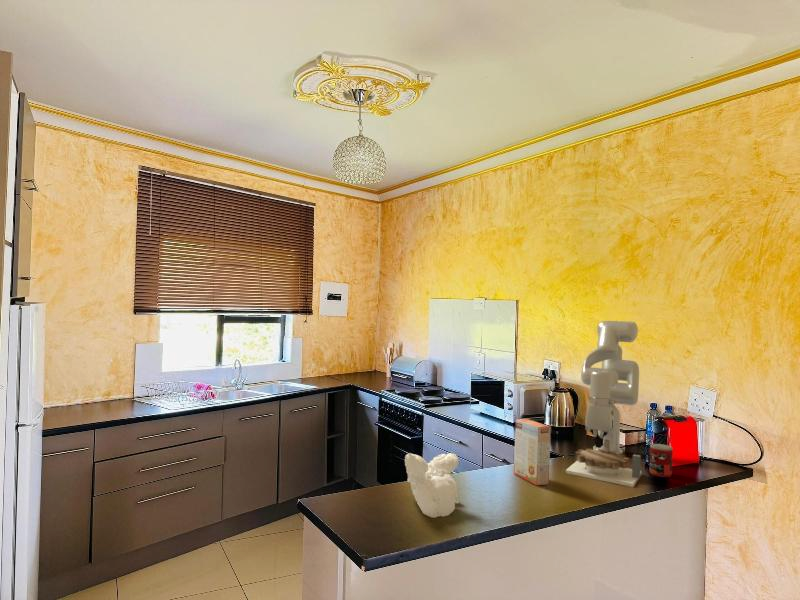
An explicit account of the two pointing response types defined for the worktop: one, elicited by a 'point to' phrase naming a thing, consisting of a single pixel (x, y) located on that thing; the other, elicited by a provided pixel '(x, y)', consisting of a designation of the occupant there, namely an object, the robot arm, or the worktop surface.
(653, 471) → the canned food
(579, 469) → the stand
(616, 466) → the sprocket
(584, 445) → the worktop surface
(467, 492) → the worktop surface
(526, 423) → the cracker box
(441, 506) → the white lumpy piece
